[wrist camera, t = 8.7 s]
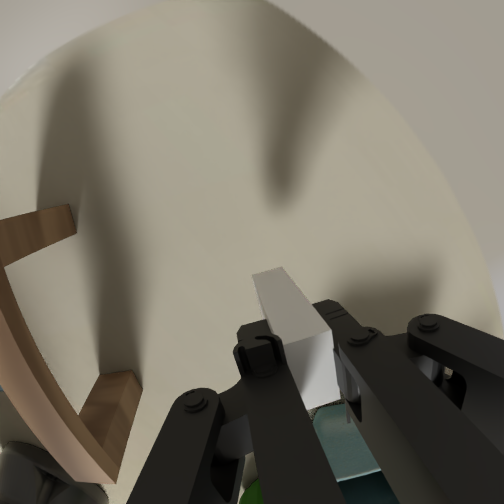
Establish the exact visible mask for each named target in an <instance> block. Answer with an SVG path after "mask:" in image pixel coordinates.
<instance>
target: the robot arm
mask: <svg viewBox="0 0 504 504" xmlns="http://www.w3.org/2000/svg"><path fill="white" fill-rule="evenodd" d="M251 276H252V280H253V284H254V288H255V292H256V295H257V299H258V303H259V307H260V311H261V314H262V318H263V320H260V321H257V322H253V323H249V324H246V325H242V326H241V327H240V328H239V330H238V332H237V339H238V344H237V345H236V346H235V347H234V350H233V355H234V358H235V361H236V364H237V366H238V369H239V372H240V375H241V379H240V380H239V381H238V383H237V384H236V385H234V386H233V387H232V388H230V389H228V390H226V391H224V392H222V393H220V394H217V393H216V391H214V390H212V389H209V388H197V389H192V390H190V391H187V392H185V393H183V394H182V395H181V396H179V397H178V398H177V399H176V400H175V402H174V403H173V405H172V407H171V409H170V411H169V413H168V415H167V417H166V419H165V422H164V424H163V426H162V428H161V430H160V432H159V434H158V436H157V439H156V441H155V443H154V445H153V447H152V449H151V451H150V454H149V456H148V458H147V460H146V462H145V464H144V466H143V469H142V471H141V473H140V475H139V477H138V479H137V481H136V484H135V486H134V488H133V490H132V492H131V494H130V496H129V499H128V501H127V503H126V504H237V502H238V497H239V491H240V486H241V480H242V475H243V469H244V464H245V455H247V454H249V453H251V452H253V451H254V456H255V461H256V466H257V472H258V477H259V482H260V488H261V493H262V498H263V503H264V504H346V501H345V499H344V497H343V494H342V492H341V490H340V487H339V485H338V483H337V480H336V478H335V476H334V473H333V471H332V469H331V466H330V464H329V462H328V459H327V457H326V455H325V452H324V450H323V447H322V445H321V443H320V440H319V438H318V436H317V433H316V431H315V429H314V426H313V424H312V421H311V419H310V417H309V414H308V412H307V410H309V409H312V408H315V407H318V406H321V405H324V404H327V403H330V402H333V401H336V400H338V399H340V390H341V391H342V393H343V395H344V398H345V408H346V419H347V424H349V423H351V419H350V417H351V418H352V420H353V421H354V423H355V425H356V427H357V428H358V430H359V432H360V434H361V436H362V437H363V439H364V441H365V443H366V444H367V446H368V448H369V450H370V451H371V453H372V455H373V457H374V458H375V460H376V462H377V464H378V465H379V467H380V469H381V471H382V472H383V474H384V476H385V478H386V480H387V481H388V483H389V485H390V487H391V488H392V490H393V492H394V494H395V495H396V497H397V499H398V501H399V502H400V504H504V340H503V339H500V338H497V337H495V336H492V335H490V334H487V333H485V332H482V331H480V330H477V329H475V328H472V327H469V326H467V325H464V324H462V323H459V322H457V321H454V320H452V319H449V318H446V317H444V316H441V315H437V314H424V315H419V316H417V317H415V318H413V319H412V320H411V321H410V322H409V323H408V327H407V333H403V334H398V335H393V336H385V335H383V334H382V333H381V332H380V331H379V330H377V329H375V328H371V327H362V326H361V325H360V324H359V323H358V322H357V321H356V320H355V319H354V318H353V317H352V316H351V315H350V314H348V312H347V311H346V310H345V309H344V308H343V307H342V306H341V305H340V304H339V303H338V302H335V301H332V300H329V299H327V300H324V301H321V302H318V303H315V304H311V303H310V302H309V300H308V299H307V298H306V297H305V295H304V294H303V293H302V291H301V290H300V289H299V288H298V286H297V285H296V284H295V283H294V281H293V280H292V279H291V277H290V276H289V275H288V274H287V272H286V271H285V270H284V269H283V267H279V268H276V269H272V270H268V271H265V272H261V273H258V274H254V275H251ZM445 366H446V367H448V368H450V369H452V370H453V373H452V376H449V375H447V374H445ZM339 388H340V390H339ZM0 504H109V501H108V498H107V496H106V495H105V493H104V492H103V491H102V490H101V489H100V488H99V487H98V486H97V485H96V484H95V483H88V482H78V481H75V480H74V479H73V478H72V477H71V476H70V475H69V474H68V473H67V472H66V471H65V470H64V468H63V467H62V466H61V465H60V464H59V463H58V462H57V461H56V460H55V459H54V457H53V456H52V455H51V454H50V453H48V452H46V451H44V450H41V449H39V448H37V447H34V446H32V445H29V444H25V443H21V442H10V443H8V444H7V445H6V446H5V448H4V449H3V451H2V452H1V454H0Z"/></svg>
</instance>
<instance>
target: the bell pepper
mask: <svg viewBox="0 0 504 504" xmlns="http://www.w3.org/2000/svg"><path fill="white" fill-rule="evenodd" d="M239 504H264V503H263V498H262V493H261V488H260V482H259V478H258V479H257V480H256V481H255V482H254V483H252V484H251V486H250V488H247V489H246V490H245V492H244V493H243V495H242V496H241V498H240V501H239Z"/></svg>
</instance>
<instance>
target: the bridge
mask: <svg viewBox="0 0 504 504" xmlns="http://www.w3.org/2000/svg"><path fill="white" fill-rule="evenodd" d="M76 233H77V232H76V229H75V225H74V222H73V218H72V215H71V211H70V207H69V204H66V205H61V206H57V207H52V208H48V209H43V210H39V211H35V212H30V213H26V214H22V215H18V216H14V217H10V218H6V219H2V220H0V385H1V387H2V388H3V390H4V392H5V393H6V395H7V396H8V398H9V399H10V401H11V402H12V404H13V405H14V407H15V408H16V410H17V411H18V413H19V414H20V415H21V417H22V418H23V420H24V421H25V422H26V424H27V425H28V426H29V428H30V429H31V430H32V432H33V433H34V434H35V436H36V437H37V438H38V439H39V441H40V442H41V443H42V444H43V446H44V447H45V448H46V449H47V450H48V452H49V453H50V454H51V455H52V456H53V457H54V459H55V460H56V461H57V462H58V463H59V464H60V465H61V466H62V467H63V468H64V470H65V471H66V472H67V473H68V474H69V475H70V476H71V477H72V478H73V479H74V480H75V481H78V482H88V483H102V484H116V482H117V478H118V474H119V470H120V466H121V463H122V459H123V455H124V452H125V448H126V445H127V441H128V438H129V434H130V431H131V427H132V424H133V421H134V417H135V414H136V411H137V408H138V404H139V401H140V398H141V395H142V392H143V390H142V388H141V386H140V384H139V382H138V381H137V379H136V377H135V375H134V373H133V371H132V370H130V371H124V372H117V373H111V374H104V375H99V377H98V379H97V381H96V382H95V384H94V386H93V388H92V390H91V392H90V394H89V396H88V398H87V399H86V401H85V403H84V405H83V407H82V409H81V411H80V413H79V415H77V413H76V412H75V410H74V409H73V407H72V406H71V404H70V403H69V401H68V400H67V398H66V397H65V395H64V394H63V392H62V390H61V389H60V387H59V385H58V384H57V382H56V380H55V379H54V377H53V375H52V374H51V372H50V370H49V368H48V366H47V365H46V363H45V361H44V359H43V357H42V355H41V353H40V352H39V350H38V348H37V346H36V344H35V342H34V340H33V338H32V336H31V333H30V331H29V329H28V327H27V325H26V323H25V320H24V318H23V316H22V314H21V311H20V309H19V307H18V304H17V302H16V299H15V297H14V294H13V292H12V289H11V286H10V284H9V281H8V278H7V275H6V273H5V270H4V267H5V266H7V265H9V264H11V263H13V262H15V261H17V260H19V259H21V258H23V257H25V256H27V255H30V254H32V253H34V252H36V251H38V250H40V249H42V248H45V247H47V246H49V245H51V244H54V243H56V242H58V241H60V240H63V239H65V238H67V237H69V236H72V235H74V234H76Z"/></svg>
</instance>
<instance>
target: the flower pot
mask: <svg viewBox="0 0 504 504" xmlns="http://www.w3.org/2000/svg"><path fill="white" fill-rule="evenodd" d="M350 419H351V423H349V424H347V419H346V408H345V403H344V404H339V405H333V406H327V407H322V408H320V409H318V410H317V412H316V415H315V417H314V421H313V426H314V429H315V431H316V433H317V436H318V438H319V440H320V443H321V445H322V447H323V450H324V452H325V455H326V457H327V459H328V462H329V464H330V466H331V469H332V471H333V473H334V476H335V478H336V480H337V483H338V485H339V487H340V490H341V492H342V494H343V497H344V499H345V501H346V504H400V502H399V501H398V499H397V497H396V495H395V494H394V492H393V490H392V488H391V487H390V485H389V483H388V481H387V480H386V478H385V476H384V474H383V472H382V471H381V469H380V467H379V465H378V464H377V462H376V460H375V458H374V457H373V455H372V453H371V451H370V450H369V448H368V446H367V444H366V443H365V441H364V439H363V437H362V436H361V434H360V432H359V430H358V428H357V427H356V425H355V423H354V421H353V420H352V418H351V417H350Z"/></svg>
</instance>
